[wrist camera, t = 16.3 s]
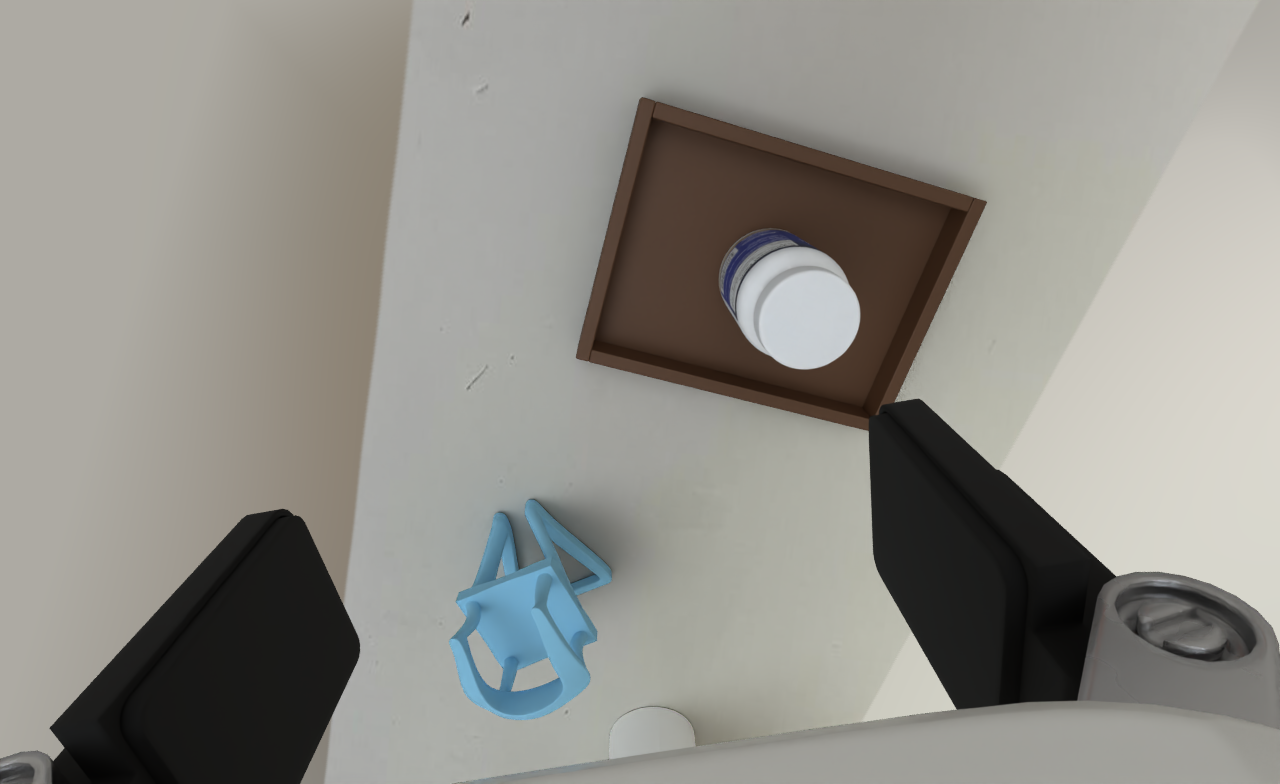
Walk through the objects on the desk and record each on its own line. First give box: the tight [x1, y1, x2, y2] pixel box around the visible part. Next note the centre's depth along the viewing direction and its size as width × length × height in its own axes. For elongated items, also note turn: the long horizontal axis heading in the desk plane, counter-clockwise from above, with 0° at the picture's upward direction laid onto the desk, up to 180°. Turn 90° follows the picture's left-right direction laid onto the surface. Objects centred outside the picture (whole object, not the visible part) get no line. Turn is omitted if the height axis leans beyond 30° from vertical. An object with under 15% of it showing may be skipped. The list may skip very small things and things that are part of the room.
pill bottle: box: [719, 228, 860, 369], centre depth 34 cm, size 6×6×10 cm
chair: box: [449, 500, 612, 720], centre depth 41 cm, size 8×8×12 cm
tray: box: [576, 97, 987, 431], centre depth 38 cm, size 20×15×2 cm
